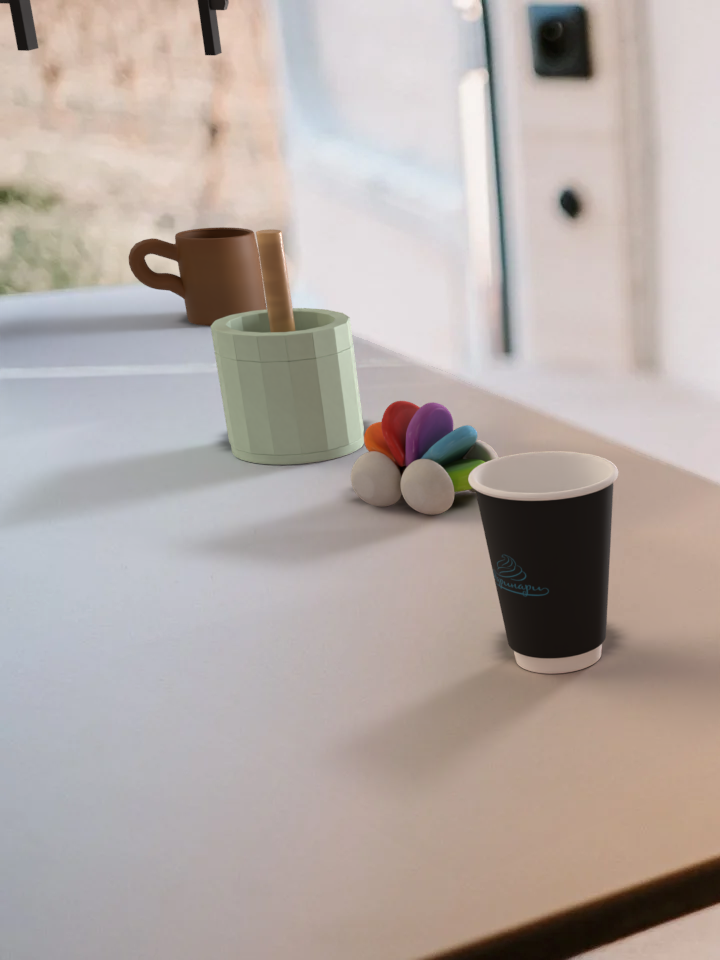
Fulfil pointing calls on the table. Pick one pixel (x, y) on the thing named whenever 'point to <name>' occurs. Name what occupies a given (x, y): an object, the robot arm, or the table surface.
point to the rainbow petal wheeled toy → (417, 458)
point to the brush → (275, 280)
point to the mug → (207, 271)
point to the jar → (289, 387)
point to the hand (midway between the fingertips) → (122, 52)
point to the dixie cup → (549, 553)
